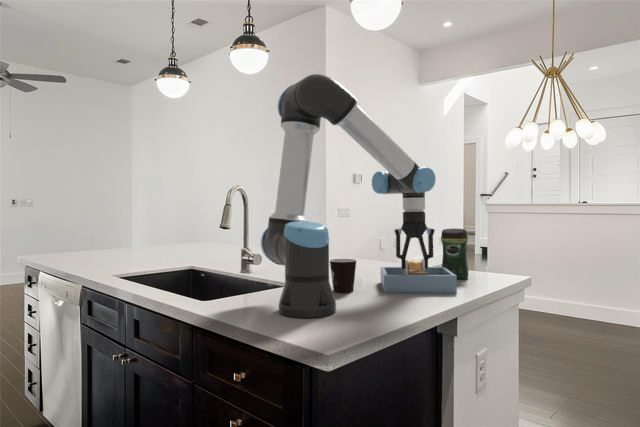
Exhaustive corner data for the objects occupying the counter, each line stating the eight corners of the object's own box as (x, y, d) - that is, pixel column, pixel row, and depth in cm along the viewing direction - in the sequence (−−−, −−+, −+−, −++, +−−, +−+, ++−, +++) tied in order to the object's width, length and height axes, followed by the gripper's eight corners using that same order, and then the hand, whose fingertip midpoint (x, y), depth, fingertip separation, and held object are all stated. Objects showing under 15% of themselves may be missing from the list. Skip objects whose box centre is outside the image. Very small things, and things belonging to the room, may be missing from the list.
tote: (456, 293, 134) (456, 275, 134) (384, 292, 136) (384, 275, 136) (444, 282, 153) (444, 267, 152) (380, 282, 154) (380, 267, 154)
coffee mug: (354, 294, 135) (354, 262, 134) (327, 293, 136) (327, 261, 136) (359, 287, 146) (358, 257, 146) (334, 286, 148) (333, 257, 148)
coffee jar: (469, 277, 163) (469, 228, 163) (466, 280, 156) (466, 229, 156) (443, 275, 168) (443, 227, 167) (439, 278, 160) (439, 228, 160)
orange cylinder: (423, 283, 146) (423, 262, 145) (408, 283, 146) (408, 263, 146) (421, 280, 151) (420, 261, 150) (406, 280, 151) (406, 261, 151)
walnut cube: (427, 288, 138) (427, 272, 137) (411, 288, 138) (411, 272, 138) (424, 285, 143) (424, 270, 142) (409, 285, 143) (409, 270, 143)
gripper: (438, 210, 151) (439, 276, 151) (386, 211, 152) (387, 276, 153) (442, 210, 143) (443, 280, 144) (388, 211, 145) (389, 280, 145)
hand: (414, 278), depth 148 cm, fingers closed on orange cylinder, 5 cm apart
